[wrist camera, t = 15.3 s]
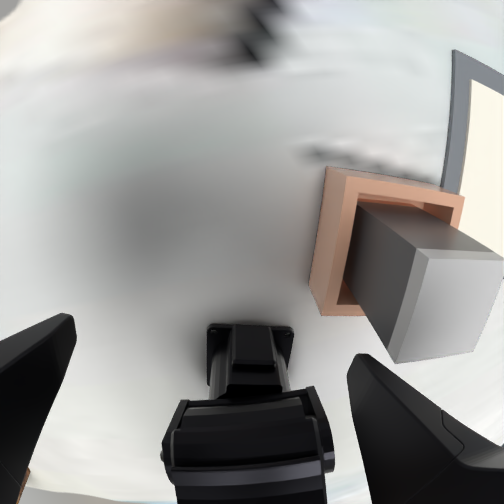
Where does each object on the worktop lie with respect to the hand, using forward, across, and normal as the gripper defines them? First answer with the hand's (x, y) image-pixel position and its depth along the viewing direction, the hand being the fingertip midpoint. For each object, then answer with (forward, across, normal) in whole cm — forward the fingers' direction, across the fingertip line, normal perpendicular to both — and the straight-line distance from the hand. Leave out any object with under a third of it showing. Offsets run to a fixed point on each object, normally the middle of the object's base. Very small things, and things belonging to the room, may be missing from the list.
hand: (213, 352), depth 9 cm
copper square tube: (+12, -10, -1) cm, 16 cm away
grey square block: (+12, -10, -1) cm, 16 cm away
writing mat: (+12, -22, -8) cm, 26 cm away
